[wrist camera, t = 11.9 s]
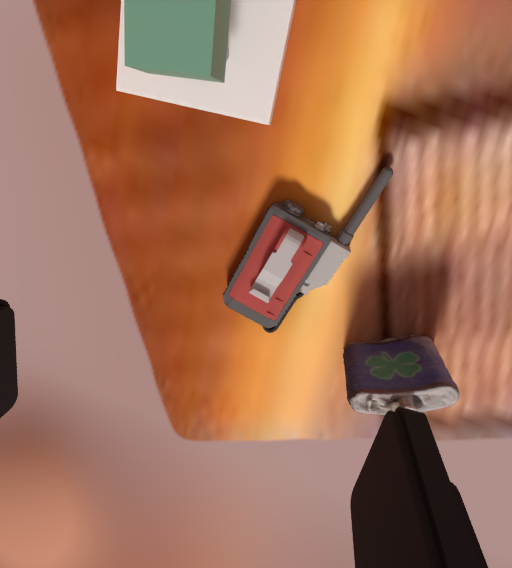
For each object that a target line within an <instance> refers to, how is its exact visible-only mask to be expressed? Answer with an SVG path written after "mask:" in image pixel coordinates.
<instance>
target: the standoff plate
mask: <svg viewBox="0 0 512 568" xmlns="http://www.w3.org/2000/svg"><path fill="white" fill-rule="evenodd" d="M295 5H296V0H231V8H230V21H229V33H228V45H227V57H226V70H225V82H224V83H221V82H213V81H205V80H197V79H189V78H181V77H173V76H165V75H157V74H149V73H145V72H142V71H139V70H136V69H133V68H130V67H127V66H125V47H124V0H121V15H120V32H119V49H118V67H117V84H116V91H121V92H125V93H130V94H134V95H138V96H143V97H147V98H152V99H156V100H160V101H165V102H169V103H174V104H178V105H183V106H187V107H191V108H196V109H200V110H205V111H209V112H213V113H218V114H222V115H227V116H231V117H235V118H240V119H244V120H249V121H253V122H257V123H262V124H266V125H271V121H272V117H273V112H274V107H275V102H276V97H277V92H278V87H279V83H280V78H281V73H282V68H283V63H284V58H285V53H286V49H287V44H288V39H289V34H290V29H291V24H292V19H293V15H294V10H295Z"/></svg>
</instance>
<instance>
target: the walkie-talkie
mask: <svg viewBox="0 0 512 568" xmlns="http://www.w3.org/2000/svg"><path fill="white" fill-rule="evenodd" d="M392 175H393V170H392V169H391V168H390V167H385V168H383V169H382V171H381V172H380V174H379V175H378V177H377V178H376V180H375V181H374V183H373V185H372V186H371V188H370V189H369V191H368V192H367V194H366V195H365V197H364V198H363V200H362V202H361V203H360V205H359V206H358V208H357V209H356V211H355V212H354V214H353V215H352V217H351V219H350V220H349V222H348V223H347V225H346V226H345V228H344V229H342V230H341V231H340V233H339V235H338V236H337V238H336V239H335V238H334V237H332V236H330V232H331V230H330V229H331V228H332V226H331V225H330V224H328V223H326V222H325V223H324V224H323V223H322V222H320V221H318V222H317V223H315V222H313V221H311V220H310V219H308V218H306V217H304V216H303V213H304V212H305V211H304V208H303V207H301V206H300V205H299V204H297V203H295V202H293V201H291V200H285V203H284V205H283V204H281V203H280V202H275V203H273V204H272V206H271V207H270V208H268V209H267V211H266V212H265V214H264V216H263V221H262V223H261V225H260V226H258V227H257V229H256V231H255V233H254V235H253V237H254V238H253V240H252V242H251V244H250V246H249V248H248V250H247V251H246V253H245V255H244V257H243V259H242V260H241V262H240V264H239V266H238V268H237V270H236V272H235V273H234V275H233V277H232V279H231V281H230V282H229V284H228V286H227V288H226V290H225V292H224V293H223V299H224V303H225V305H226V306H228V307H229V308H231V309H233V310H234V311H236V312H238V313H240V314H242V315H244V316H245V317H247V318H249V319H251V320H253V321H254V322H256V323H258V324H260V325H262V326H263V329H264V330H265V331H266V332H268V333H272V332H274V331H276V330H277V329H278V327H279V326H280V324H281V323H282V321H283V320H284V318H285V316H286V315H287V313H288V312H289V310H290V309H291V307H292V306H293V304H294V303H295V301H296V300H297V299H298V298H300V297H302V296H303V295H304V294H305V295H307V293H308V292H309V291H310V290H312V289H315V288H318V287H320V286H323V285H326V284H327V283H328V282H329V281H330V279H331V278H332V276H333V275H334V273H335V272H336V270H337V269H338V267H339V266H340V265H341V263H342V262H343V260H344V259H345V258H347V257H348V255H349V254H350V252H351V250H350V247H349V246H348V245H349V243H350V241H351V240H352V238H353V237H354V236H353V234H354V233H355V231H356V230H357V228H358V227H359V225H360V224H361V222H362V221H363V219H364V218H365V216H366V215H367V213H368V212H369V210H370V209H371V207H372V206H373V204H374V203H375V201H376V199H377V198H378V196H379V195H380V193H381V192H382V190H383V189H384V187H385V186H386V184H387V183H388V181H389V180H390V178H391V177H392ZM299 289H301V292H299ZM271 327H272V328H271Z"/></svg>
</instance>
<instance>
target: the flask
mask: <svg viewBox="0 0 512 568" xmlns="http://www.w3.org/2000/svg"><path fill="white" fill-rule="evenodd" d="M410 336H411V337H407V338H406V337H405V338H397V337H396V338H392V337H391V338H387V339H384V340H383V341H381V342H376V341H375V340H374V341H372V342H369V343H367V342H364V341H363V342H355V343H354V342H351V343H350V344H348V345H347V346H346V347H345V348H343V349H344V354H343V359H344V366H345V375H346V390H347V399H348V401H349V404H350V405H351V407H352V408H353V409H354V410H355V411H356V412H359V413H365V414H379V415H386V413H387V412H388V411H389V410H390V411H395V409H396V408H397V407H403V408H407V409H411V410H414V411H418V412H425V411H430V410H435V409H441V408H444V407H449V406H451V405H453V404H455V403H456V401H457V400H458V398H459V390H458V387H457V385H456V384H455V382H454V381H453V380H452V378H451V376H450V374H449V372H448V370H447V368H446V367H445V364H444V362H443V360H442V358H441V356H440V355H439V352H438V350H437V348H436V346H435V344H434V342H433V340H432V339H430V337H428V336H423V335H410Z"/></svg>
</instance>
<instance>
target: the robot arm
mask: <svg viewBox="0 0 512 568" xmlns="http://www.w3.org/2000/svg"><path fill="white" fill-rule="evenodd" d="M16 364H17V363H16V341H15V319H14V311H13V310H12V309H11V308H10V305H9V304H8V302H7V301H5V300H1V299H0V418H1V417H2V416H3V415H4V414H5V413H7V412H8V411H9V410H10V409H11V408H12V407H13V405H14V404H15V402H16V399H17V396H18V387H17V365H16ZM351 519H352V532H353V543H354V558H355V568H488V566H487V563H486V561H485V558H484V556H483V553H482V550H481V548H480V545H479V542H478V540H477V537H476V534H475V532H474V529H473V527H472V525H471V521H470V519H469V516H468V514H467V511H466V508H465V506H464V503H463V500H462V498H461V495H460V493H459V491H458V489H457V487H456V486H455V485H454V484H453V483H452V482H450V480H449V477H448V474H447V472H446V469H445V466H444V464H443V461H442V458H441V455H440V453H439V450H438V447H437V444H436V442H435V439H434V436H433V433H432V431H431V428H430V425H429V422H428V420H427V417H426V415H425V414H424V413H422V412H418V411H414V410H411V409H407V408H403V407H397V408H396V409H395V411H390V410H389V411H388V412H387V413H386V415H385V417H384V419H383V421H382V424H381V426H380V428H379V431H378V433H377V435H376V437H375V440H374V442H373V445H372V447H371V449H370V452H369V454H368V456H367V458H366V461H365V463H364V466H363V468H362V470H361V472H360V475H359V477H358V479H357V482H356V484H355V486H354V488H353V492H352V496H351Z"/></svg>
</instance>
